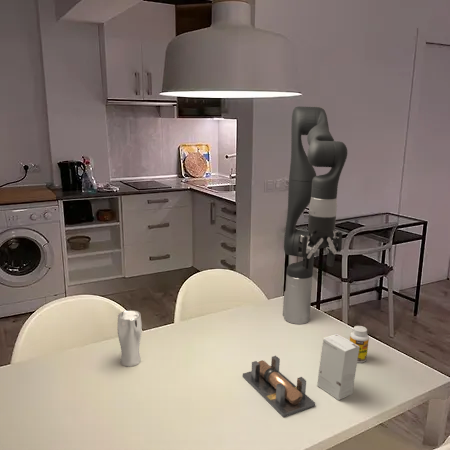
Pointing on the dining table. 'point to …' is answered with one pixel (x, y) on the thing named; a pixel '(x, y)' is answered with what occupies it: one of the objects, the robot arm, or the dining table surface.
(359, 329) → the supplement bottle
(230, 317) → the dining table surface
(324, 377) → the skincare box
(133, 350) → the white sculpted vase
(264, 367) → the copper tube
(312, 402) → the tube holder
